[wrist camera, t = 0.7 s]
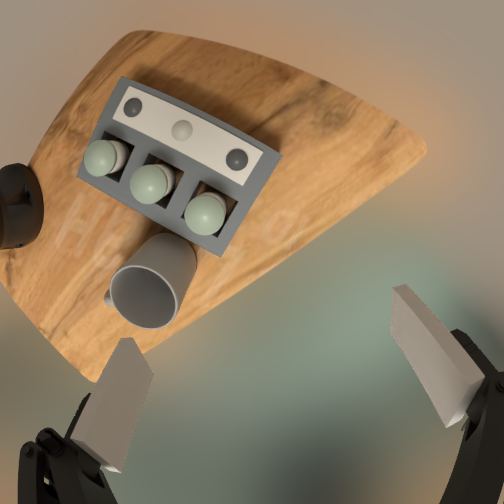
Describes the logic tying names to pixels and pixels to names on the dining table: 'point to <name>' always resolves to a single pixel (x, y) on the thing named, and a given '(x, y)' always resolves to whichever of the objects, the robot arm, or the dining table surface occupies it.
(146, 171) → the button mid
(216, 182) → the button board
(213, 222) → the button
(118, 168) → the button
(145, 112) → the card
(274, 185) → the dining table surface
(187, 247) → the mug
